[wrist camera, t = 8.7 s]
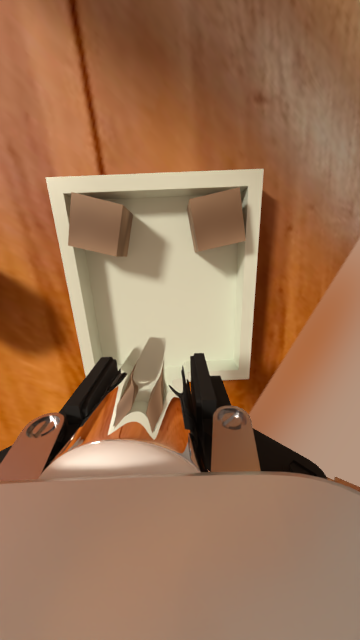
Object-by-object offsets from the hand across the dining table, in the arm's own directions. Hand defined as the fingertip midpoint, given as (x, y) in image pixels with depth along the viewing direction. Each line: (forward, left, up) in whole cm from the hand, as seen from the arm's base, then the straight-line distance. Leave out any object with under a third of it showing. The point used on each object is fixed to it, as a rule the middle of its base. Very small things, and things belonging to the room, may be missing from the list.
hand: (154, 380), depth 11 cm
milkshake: (0, 0, -2) cm, 2 cm away
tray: (-3, 0, -13) cm, 13 cm away
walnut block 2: (-9, +5, -12) cm, 16 cm away
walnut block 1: (-9, -5, -12) cm, 16 cm away
